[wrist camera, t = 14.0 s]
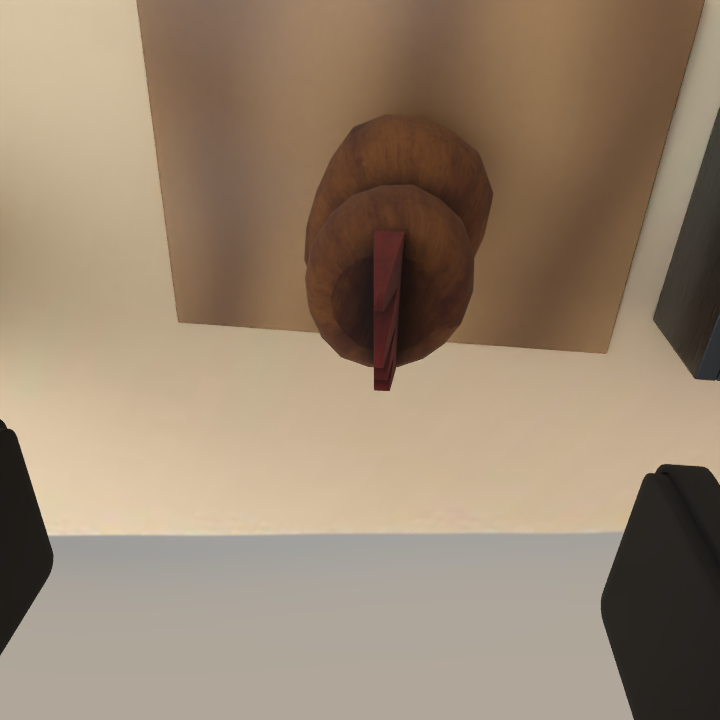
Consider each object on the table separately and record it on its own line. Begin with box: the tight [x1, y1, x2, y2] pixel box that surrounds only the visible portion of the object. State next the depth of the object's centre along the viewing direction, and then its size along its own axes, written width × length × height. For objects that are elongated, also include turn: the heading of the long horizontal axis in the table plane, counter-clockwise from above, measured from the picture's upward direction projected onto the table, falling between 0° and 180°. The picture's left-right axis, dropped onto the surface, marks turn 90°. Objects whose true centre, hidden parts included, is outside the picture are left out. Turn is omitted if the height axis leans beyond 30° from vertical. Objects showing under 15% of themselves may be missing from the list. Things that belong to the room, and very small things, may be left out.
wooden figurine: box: [304, 114, 493, 391], centre depth 19 cm, size 7×6×15 cm
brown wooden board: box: [137, 0, 705, 354], centre depth 25 cm, size 20×14×1 cm
